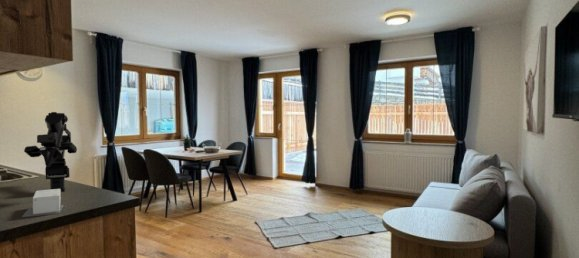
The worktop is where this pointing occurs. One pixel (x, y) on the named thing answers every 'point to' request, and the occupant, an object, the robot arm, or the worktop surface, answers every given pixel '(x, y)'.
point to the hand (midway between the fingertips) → (47, 166)
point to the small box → (46, 201)
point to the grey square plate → (30, 213)
